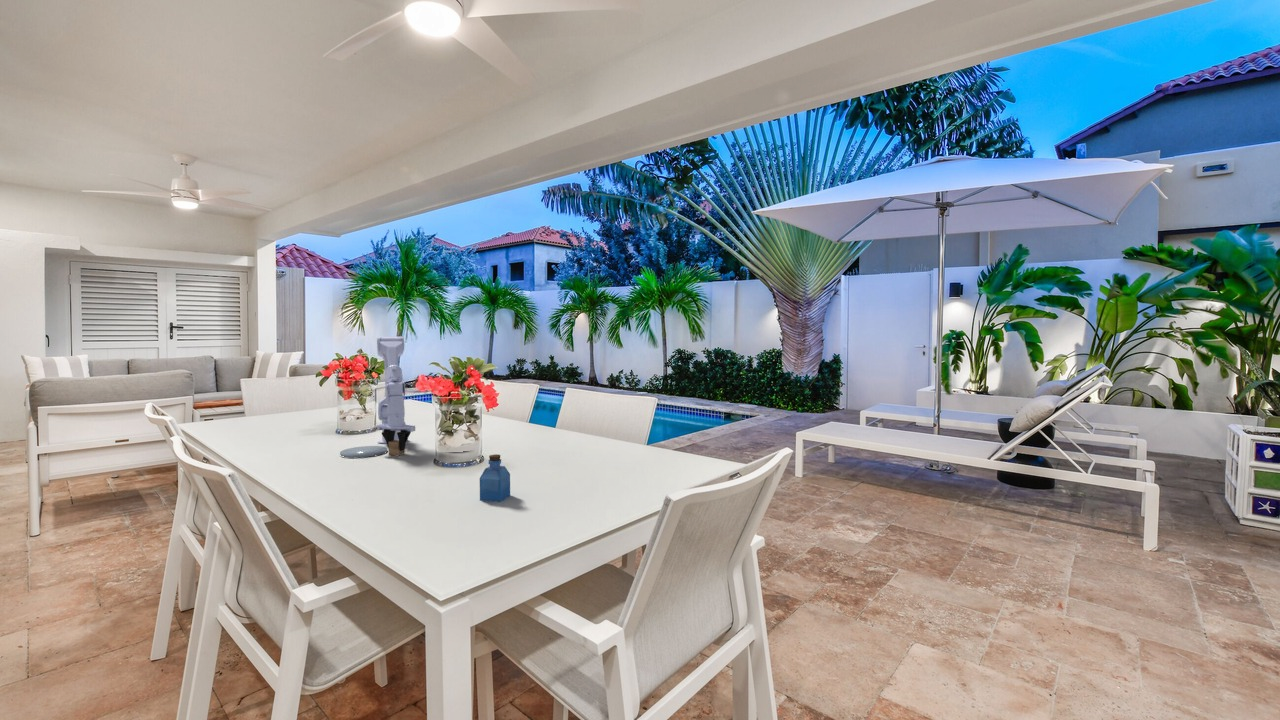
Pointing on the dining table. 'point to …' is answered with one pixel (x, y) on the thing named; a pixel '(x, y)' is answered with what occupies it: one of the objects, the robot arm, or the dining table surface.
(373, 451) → the slate dish
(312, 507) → the dining table surface
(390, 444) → the walnut block
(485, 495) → the perfume bottle
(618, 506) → the dining table surface
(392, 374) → the robot arm
